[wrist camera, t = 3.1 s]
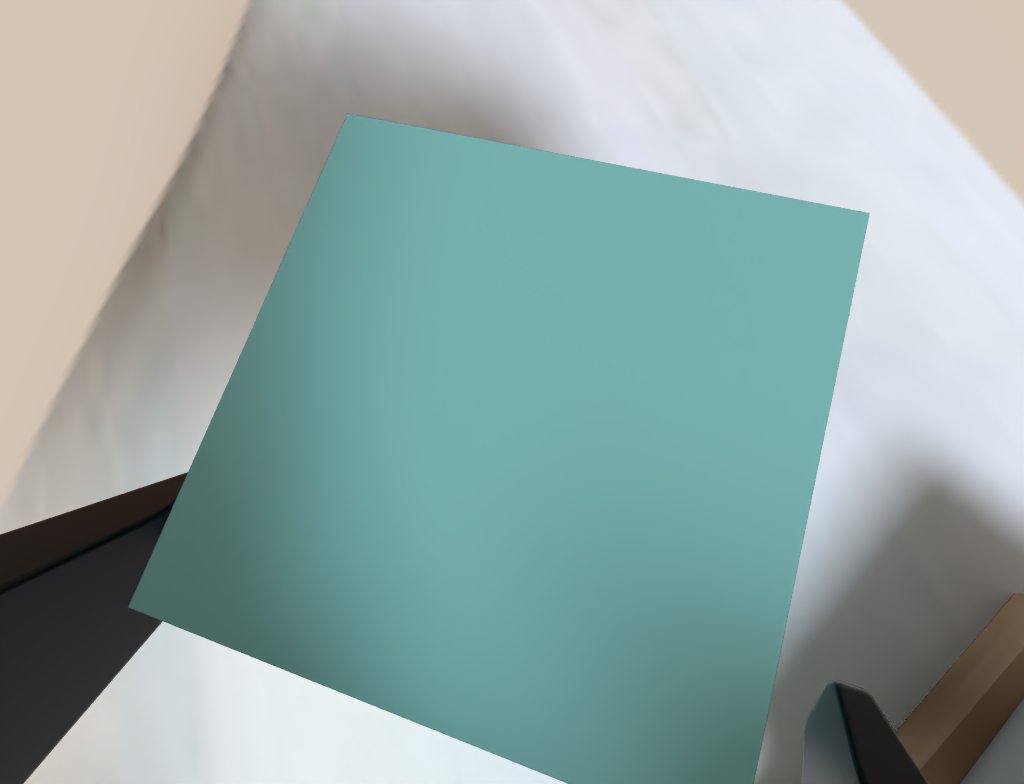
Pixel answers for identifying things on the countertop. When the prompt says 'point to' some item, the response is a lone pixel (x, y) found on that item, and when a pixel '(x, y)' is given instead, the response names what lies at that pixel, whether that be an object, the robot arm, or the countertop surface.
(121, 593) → the robot arm
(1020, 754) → the tower top
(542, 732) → the column
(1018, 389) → the countertop surface
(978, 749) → the tower base
